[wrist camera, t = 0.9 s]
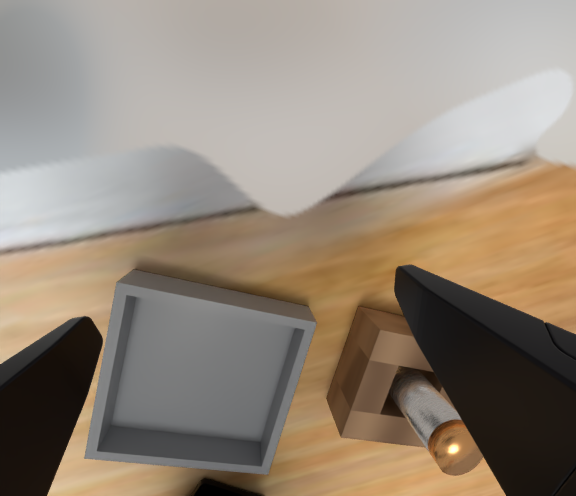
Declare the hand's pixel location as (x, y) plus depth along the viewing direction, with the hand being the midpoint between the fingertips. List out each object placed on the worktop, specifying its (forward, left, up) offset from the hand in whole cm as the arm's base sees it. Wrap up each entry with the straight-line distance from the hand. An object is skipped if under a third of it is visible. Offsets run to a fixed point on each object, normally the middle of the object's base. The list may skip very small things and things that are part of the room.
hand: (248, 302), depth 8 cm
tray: (-3, +11, -13) cm, 17 cm away
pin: (-17, +4, -13) cm, 22 cm away
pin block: (-17, +4, -13) cm, 22 cm away
